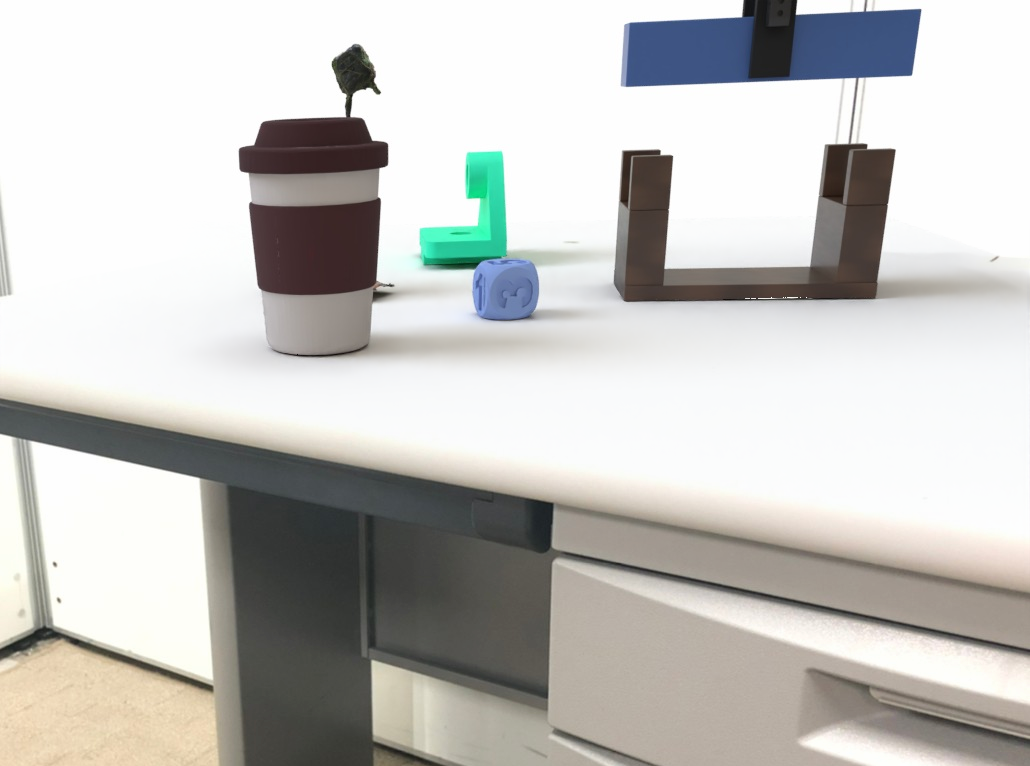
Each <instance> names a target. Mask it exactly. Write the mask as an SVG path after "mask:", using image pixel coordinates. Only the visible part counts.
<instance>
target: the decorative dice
mask: <svg viewBox="0 0 1030 766" xmlns="http://www.w3.org/2000/svg"><path fill="white" fill-rule="evenodd" d="M473 272H474V273H473V275H472V277H473V278H472V299H473V305H474V309H475V312H476V313H477V315H478V316H479V317H481V318H483V319H488V320H499V321H501V320H502V321H503V320H504V321H509V320H520V319H526V318H528V317H529V316H531V314H533V313H534V311H535V310H536V308H537V306H538V302H539V297H540V279H539V274H538V271H537V267H536V265H535V264H534V262H533V261H532V260H529V259H523V258H502V259H492V260H485V261H482V262H481V263H478V265H477V266H476V267H475V269H474V271H473Z"/></svg>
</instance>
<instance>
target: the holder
mask: <svg viewBox="0 0 1030 766" xmlns="http://www.w3.org/2000/svg"><path fill="white" fill-rule="evenodd" d="M868 146H869V145H868V143H864V142H856V143H855V142H854V143H853V142H852V143H826V144H824V148H823V157H822V165H821V173H820V181H819V190H818V197H817V207H816V214H815V222H814V230H813V238H812V239H813V240H812V248H811V257H810V264H809V266H764V267H763V266H761V267H760V266H759V267H758V266H757V267H698V268H697V267H696V268H694V267H693V268H691V267H690V268H687V267H686V268H666V257H667V244H668V243H667V242H668V231H669V230H668V228H669V217H670V205H671V204H670V203H671V193H672V192H671V191H672V180H673V179H672V178H673V165H674V163H673V162H674V155H672V154H662V150H661V149H659V148H655V149H652V148H651V149H623V150H621V158H620V177H619V191H618V192H619V193H618V207H617V225H616V240H615V242H616V243H615V257H614V270H613V285H614V286H615V288H616V290H617V292H618V293H619V295H620V297H621V298H622V300H623V301H624V302H652V301H653V302H655V301H656V302H660V301H661V302H663V301H666V302H667V301H668V302H669V301H670V300H671V301H724V300H723V299H745V298H750V299H751V298H756V299H758V298H771V297H772V298H783V297H784V298H785V297H786V298H787V297H798V298H800V297H801V298H806V297H807V298H860V299H876V297H877V291H878V285H879V283H878V278H879V274H880V273H879V271H880V266H881V265H880V264H881V257H882V251H883V245H884V237H885V230H886V223H887V216H888V209H889V201H890V193H891V186H892V180H893V174H894V173H893V172H894V166H895V159H896V152H897V150H896V149H895V148H891V147H889V148H887V147H886V148H885V147H884V148H868Z"/></svg>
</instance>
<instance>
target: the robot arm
mask: <svg viewBox="0 0 1030 766" xmlns="http://www.w3.org/2000/svg"><path fill="white" fill-rule="evenodd" d="M797 8H798V0H743V3H742V13H741V17H754V23H753V33H752V44H751V54H750V65H749V76H748V78H774V77H789V75H790V66H791V56H792V47H793V38H794V28H795V19H796V15H797Z"/></svg>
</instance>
